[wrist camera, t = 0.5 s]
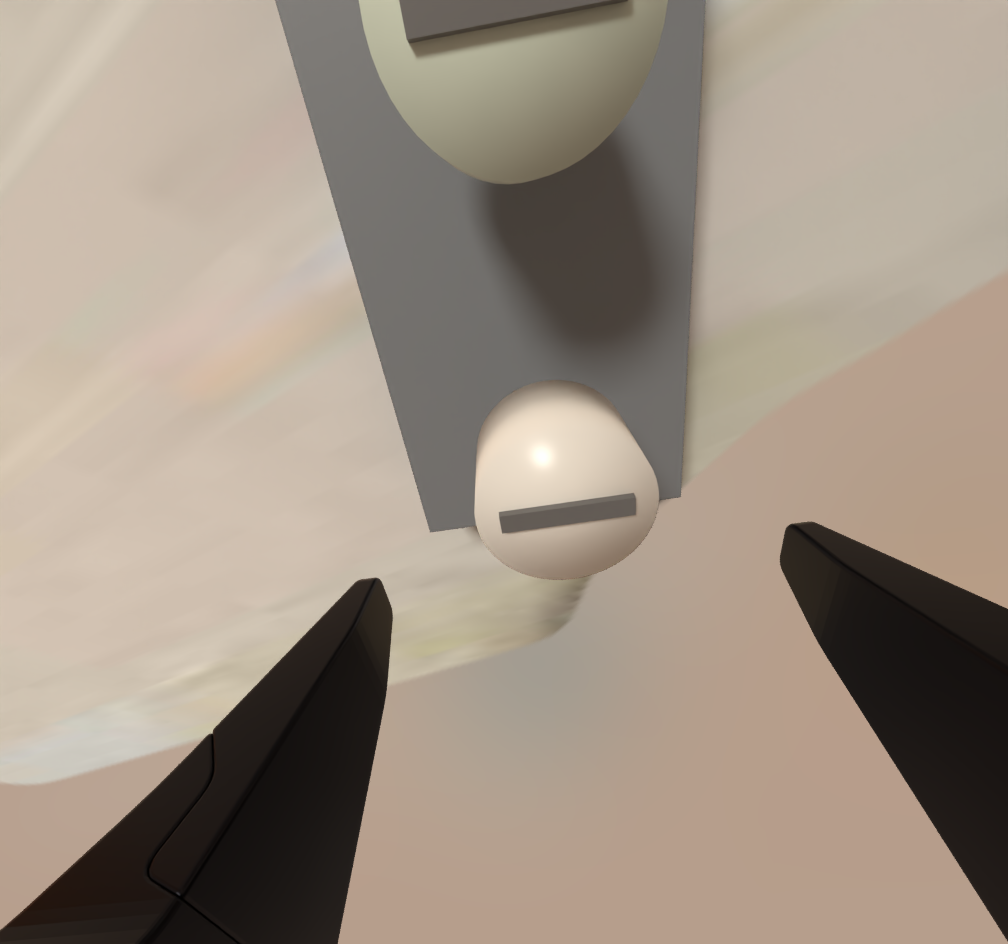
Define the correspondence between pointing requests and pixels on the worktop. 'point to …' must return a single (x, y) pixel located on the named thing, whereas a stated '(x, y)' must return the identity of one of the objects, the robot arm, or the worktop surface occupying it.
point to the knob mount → (512, 256)
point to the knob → (561, 482)
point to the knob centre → (513, 76)
